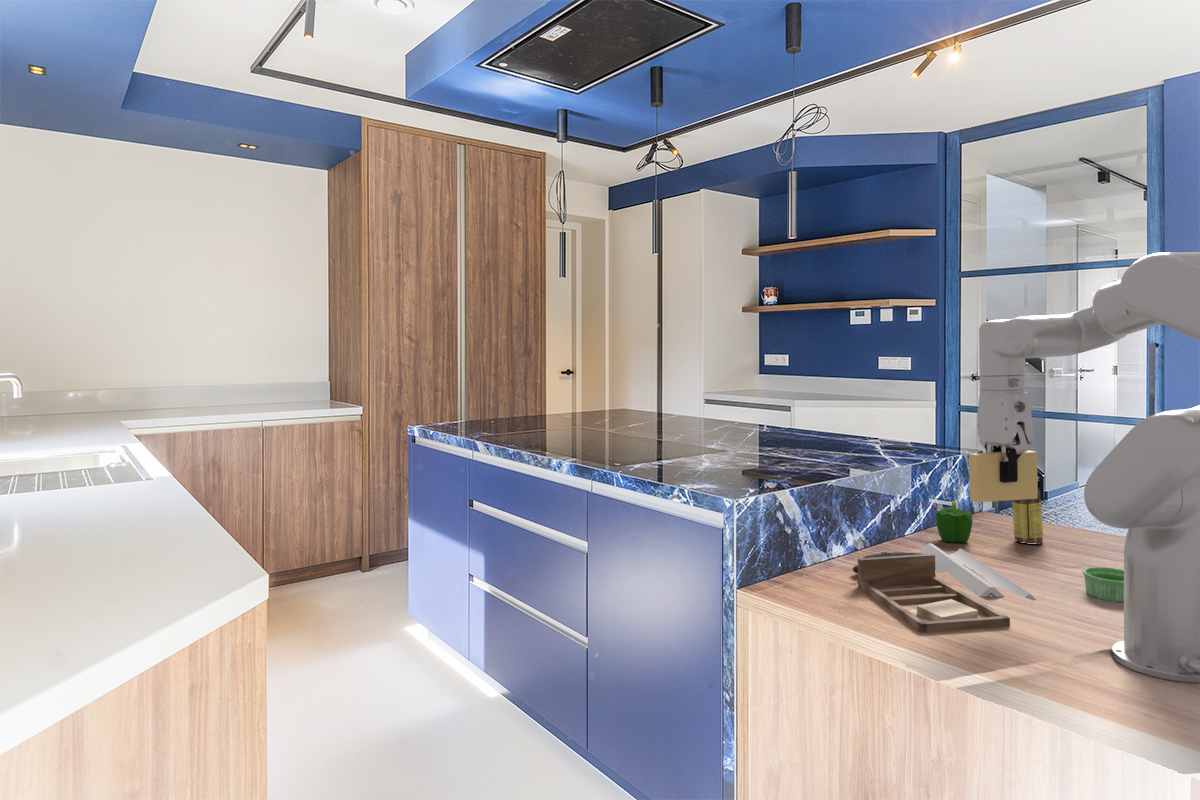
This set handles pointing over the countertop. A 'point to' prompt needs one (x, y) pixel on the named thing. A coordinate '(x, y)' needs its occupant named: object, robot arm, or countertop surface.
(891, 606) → the rack
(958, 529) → the bell pepper
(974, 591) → the crown molding
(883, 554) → the can opener
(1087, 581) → the ramekin
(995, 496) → the panel
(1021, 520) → the sauce bottle
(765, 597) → the countertop surface
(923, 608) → the offcut upper
